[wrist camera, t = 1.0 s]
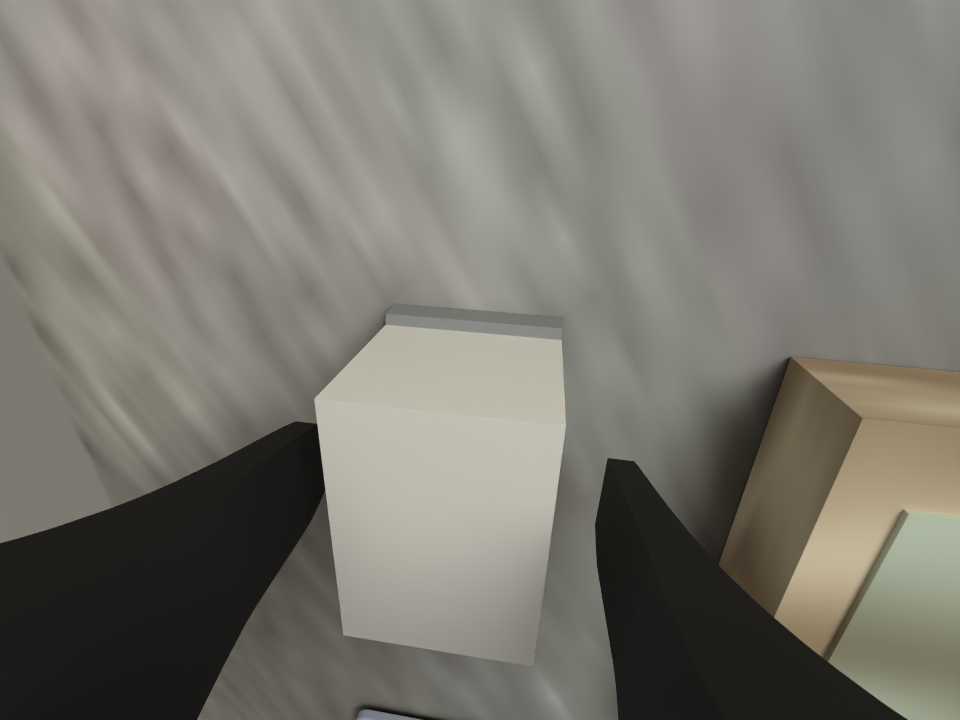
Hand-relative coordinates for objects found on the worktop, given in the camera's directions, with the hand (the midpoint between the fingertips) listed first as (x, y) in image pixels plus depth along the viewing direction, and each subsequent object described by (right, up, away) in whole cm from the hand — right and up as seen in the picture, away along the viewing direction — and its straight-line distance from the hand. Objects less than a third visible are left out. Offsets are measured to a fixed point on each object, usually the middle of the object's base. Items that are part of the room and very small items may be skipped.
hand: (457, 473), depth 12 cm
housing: (0, +1, +2) cm, 3 cm away
